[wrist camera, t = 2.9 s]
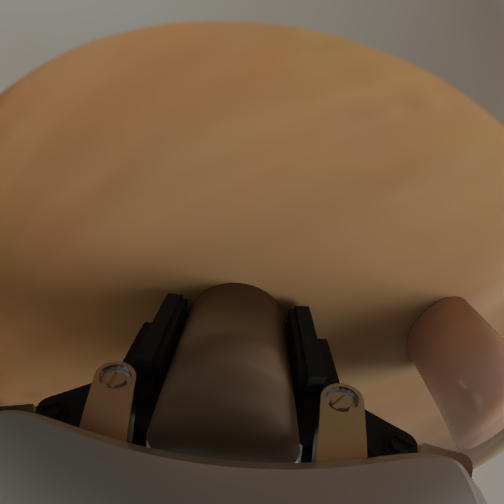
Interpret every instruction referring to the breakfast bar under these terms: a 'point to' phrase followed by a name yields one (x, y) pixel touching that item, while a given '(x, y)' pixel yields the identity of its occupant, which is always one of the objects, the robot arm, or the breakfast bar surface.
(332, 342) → the breakfast bar surface
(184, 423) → the walnut bead
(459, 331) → the pinkish-brown rounded piece
